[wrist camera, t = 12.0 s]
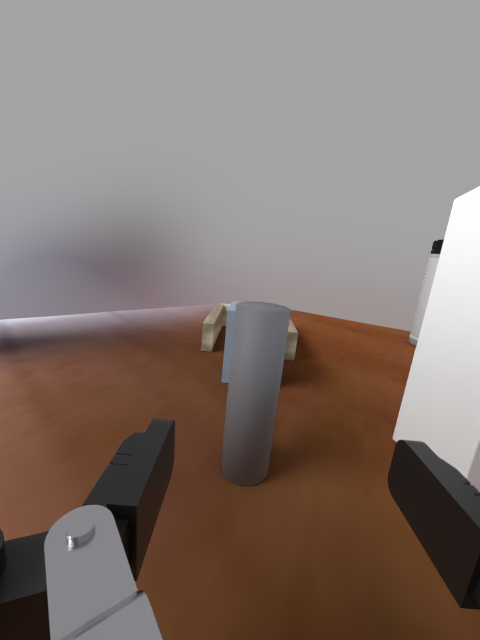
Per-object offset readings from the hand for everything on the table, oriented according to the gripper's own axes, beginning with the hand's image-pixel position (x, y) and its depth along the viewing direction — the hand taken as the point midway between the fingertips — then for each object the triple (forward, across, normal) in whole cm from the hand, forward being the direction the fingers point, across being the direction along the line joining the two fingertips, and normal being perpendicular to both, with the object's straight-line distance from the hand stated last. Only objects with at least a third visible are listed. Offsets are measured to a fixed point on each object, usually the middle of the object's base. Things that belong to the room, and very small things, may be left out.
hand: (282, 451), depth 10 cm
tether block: (+16, 0, +7) cm, 17 cm away
